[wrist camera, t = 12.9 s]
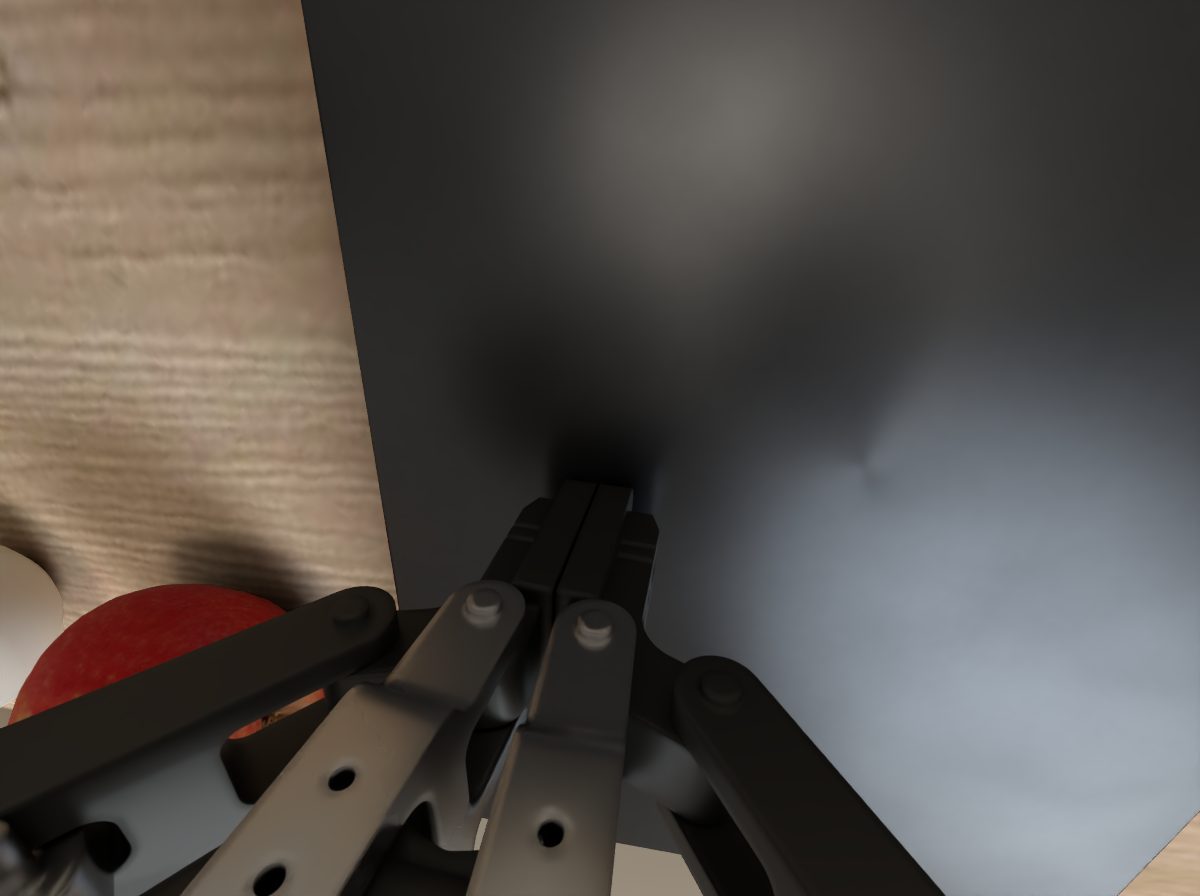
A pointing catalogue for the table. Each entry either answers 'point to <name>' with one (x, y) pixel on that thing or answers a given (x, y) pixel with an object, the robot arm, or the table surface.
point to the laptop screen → (818, 369)
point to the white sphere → (24, 619)
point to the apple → (143, 643)
